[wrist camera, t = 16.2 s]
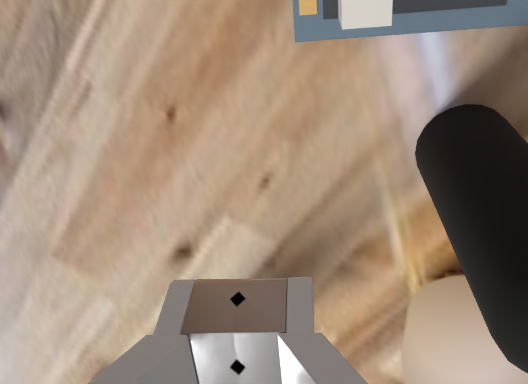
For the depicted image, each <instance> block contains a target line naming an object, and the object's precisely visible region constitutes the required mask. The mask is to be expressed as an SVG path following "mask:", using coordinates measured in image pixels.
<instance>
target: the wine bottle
mask: <svg viewBox="0 0 528 384" xmlns="http://www.w3.org/2000/svg"><path fill="white" fill-rule="evenodd" d="M415 156H416V161H417V166H418V168H419V171H420V173H421V175H422V178H423V180H424V182H425V185H426V187H427V189H428V191H429V194H430V196H431V198H432V201H433V203H434V205H435V208H436V210H437V212H438V214H439V217H440V219H441V221H442V224H443V226H444V228H445V230H446V233H447V235H448V237H449V240H450V242H451V244H452V247H453V249H454V251H455V253H456V256H457V258H458V260H459V263H460V265H461V267H462V270H463V272H464V274H465V276H466V279H467V281H468V283H469V286H470V288H471V290H472V292H473V295H474V297H475V299H476V302H477V304H478V306H479V308H480V311H481V313H482V315H483V318H484V320H485V322H486V325H487V327H488V329H489V332H490V334H491V336H492V338H493V339H494V341H495V342H496V344H497V345H498V347H499V348H500V350H501V351H502V352H503V354H504V355H505V357H506V358H507V360H508V361H509V362H511V363H512V364H514V365H515V366H517V367H518V368H520V369H521V370H523V371H524V372H526V373H528V143H527V142H526V141H525V140H524V139H523V138H522V137H521V136H520V135H519V133H518V132H517V131H516V130H515V129H514V128H513V127H512V126H511V125H510V124H509V123H508V121H507V120H506V119H505V118H504V117H502V116H501V115H500V114H499V113H498V112H496V111H495V110H493V109H491V108H488V107H485V106H482V105H462V106H458V107H454V108H450V109H448V110H446V111H444V112H443V113H441V114H439V115H437V116H436V117H435V118H434V119H433V120H432V121H431V122H430V123H429V124H428V125H427V126H426V127H425V128H424V129H423V131H422V133H421V135H420V137H419V138H418V140H417V146H416V151H415Z"/></svg>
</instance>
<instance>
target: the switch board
mask: <svg viewBox="0 0 528 384" xmlns="http://www.w3.org/2000/svg"><path fill="white" fill-rule="evenodd" d="M293 13H294V30H295V42H305V41H318V40H331V39H345V38H358V37H371V36H385V35H398V34H411V33H425V32H438V31H451V30H465V29H478V28H491V27H505V26H518V25H528V0H393V5H392V26H382V27H369V28H356V29H343V30H342V28H341V25H340V21H339V18H338V0H293Z"/></svg>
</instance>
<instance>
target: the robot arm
mask: <svg viewBox="0 0 528 384" xmlns="http://www.w3.org/2000/svg"><path fill="white" fill-rule="evenodd" d="M88 384H368V383H367V382H366V381H365V380H364V379H363V378H362V377H361V376H360V375H359V374H358V372H357V371H356V370H355V369H354V368H353V367H352V366H351V365H350V364H349V363H348V361H347V360H346V359H345V358H344V357H343V356H342V355H341V354H340V353H339V352H338V350H337V349H336V348H335V347H334V346H333V345H332V344H331V343H330V342H329V341H328V339H327V338H326V337H325V336H324V335H323V334H322V333H315V331H314V306H313V281H312V278H311V276H308V277H288V278H272V279H197V280H173V282H172V283H171V284H170V286H169V289H168V292H167V295H166V298H165V301H164V304H163V307H162V310H161V313H160V316H159V319H158V322H157V325H156V328H155V331H154V334H153V335H146V336H145V337H144V338H142V339H141V340H140V341H139V342H137V343H136V344H135V345H134V346H133V347H131V348H130V349H129V350H128V351H127V352H125V353H124V354H123V355H122V356H121V357H119V358H118V359H117V360H116V361H114V362H113V363H112V364H111V365H110V366H108V367H107V368H106V369H105V370H104V371H102V372H101V373H100V374H99V375H98V376H96V377H95V378H94V379H93V380H91V381H90V382H89V383H88Z"/></svg>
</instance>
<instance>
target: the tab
mask: <svg viewBox="0 0 528 384" xmlns="http://www.w3.org/2000/svg"><path fill="white" fill-rule="evenodd" d="M392 5H393V0H338V18H339V21H340V25H341V28H342V30H343V29H356V28H369V27H382V26H392Z"/></svg>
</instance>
